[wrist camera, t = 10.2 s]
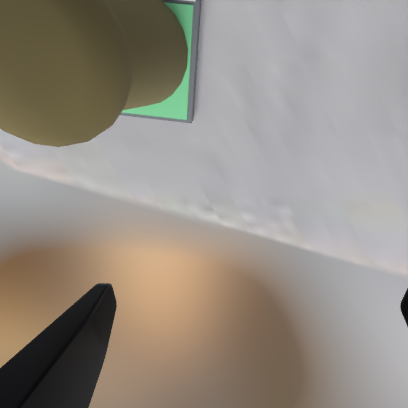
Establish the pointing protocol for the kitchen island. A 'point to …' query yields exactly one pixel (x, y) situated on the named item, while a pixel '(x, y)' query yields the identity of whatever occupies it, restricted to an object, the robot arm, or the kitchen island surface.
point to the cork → (84, 64)
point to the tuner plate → (184, 95)
